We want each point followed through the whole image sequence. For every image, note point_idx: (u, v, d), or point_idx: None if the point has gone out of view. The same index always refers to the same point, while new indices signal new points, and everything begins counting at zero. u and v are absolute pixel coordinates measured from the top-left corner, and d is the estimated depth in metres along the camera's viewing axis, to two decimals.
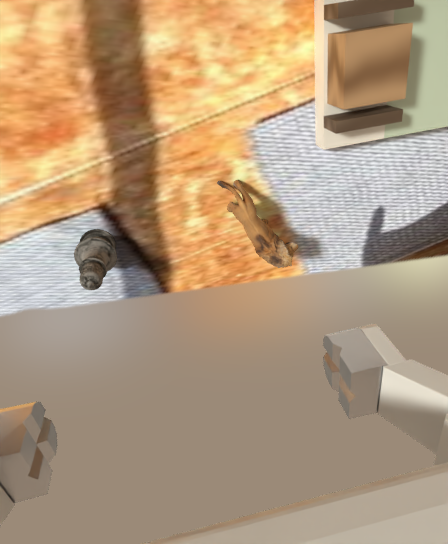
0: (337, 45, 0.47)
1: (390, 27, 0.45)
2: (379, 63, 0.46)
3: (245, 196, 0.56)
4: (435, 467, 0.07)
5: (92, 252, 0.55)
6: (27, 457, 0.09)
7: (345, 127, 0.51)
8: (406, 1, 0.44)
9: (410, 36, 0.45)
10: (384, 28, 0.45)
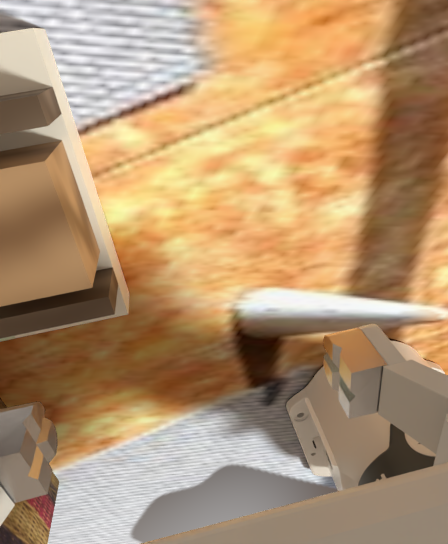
0: (90, 255, 0.26)
1: (5, 303, 0.24)
2: None
3: None
4: (435, 467, 0.07)
5: None
6: (26, 456, 0.09)
7: (16, 111, 0.20)
8: None
9: None
10: (17, 301, 0.24)
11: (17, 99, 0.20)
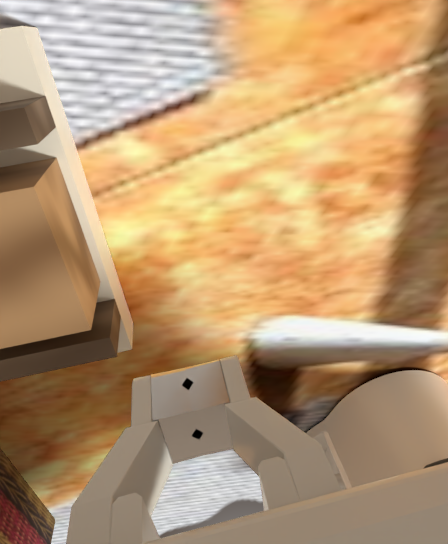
0: (89, 290, 0.22)
1: None
2: None
3: None
4: (435, 467, 0.07)
5: None
6: (193, 416, 0.10)
7: None
8: None
9: None
10: (2, 346, 0.21)
11: (0, 112, 0.16)
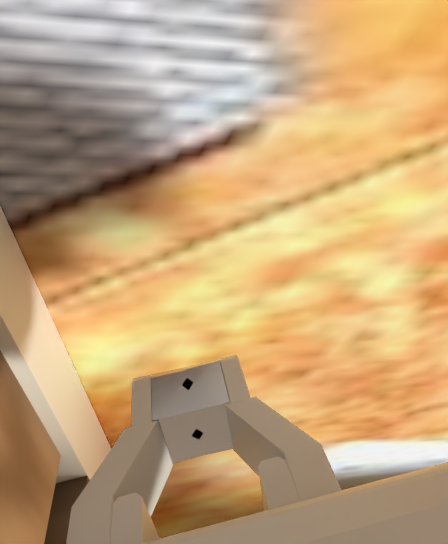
0: (30, 520, 0.11)
1: None
2: None
3: None
4: (435, 467, 0.07)
5: None
6: (193, 416, 0.10)
7: None
8: None
9: None
10: None
11: None
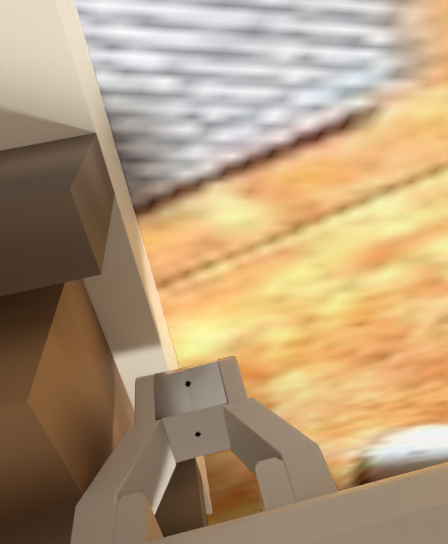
0: None
1: None
2: None
3: None
4: (435, 467, 0.07)
5: None
6: (196, 416, 0.10)
7: None
8: None
9: None
10: None
11: (2, 205, 0.06)
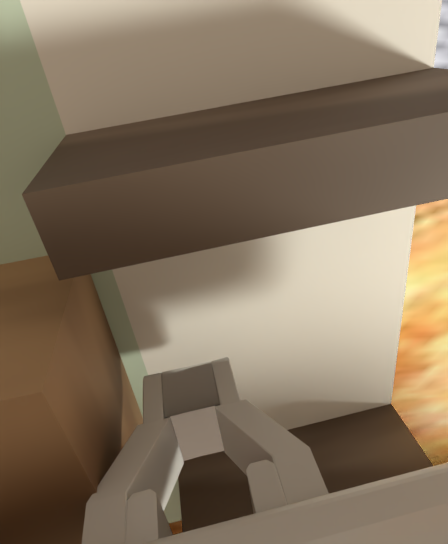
0: None
1: None
2: None
3: None
4: (435, 467, 0.07)
5: None
6: (204, 414, 0.10)
7: None
8: None
9: None
10: None
11: None
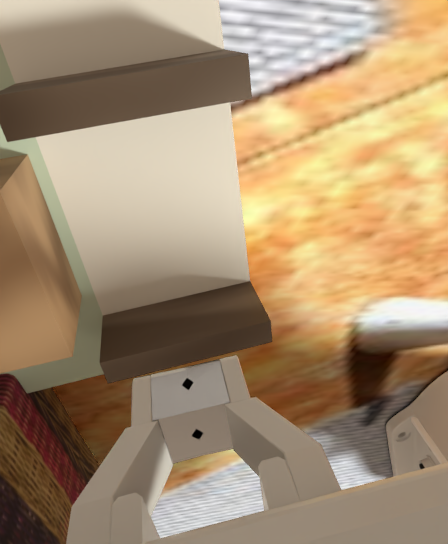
0: (69, 309, 0.19)
1: None
2: None
3: None
4: (435, 467, 0.07)
5: None
6: (193, 416, 0.10)
7: (215, 76, 0.14)
8: (121, 366, 0.20)
9: None
10: None
11: (221, 59, 0.14)
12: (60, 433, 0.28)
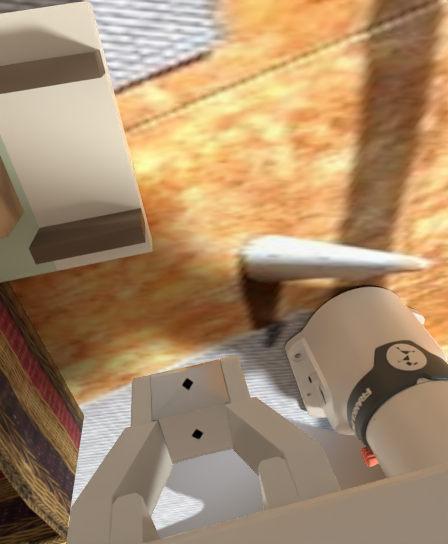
0: (9, 212, 0.31)
1: None
2: None
3: None
4: (435, 467, 0.07)
5: None
6: (193, 416, 0.10)
7: (77, 65, 0.26)
8: (43, 252, 0.32)
9: None
10: None
11: (79, 55, 0.26)
12: (18, 322, 0.40)
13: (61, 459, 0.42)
